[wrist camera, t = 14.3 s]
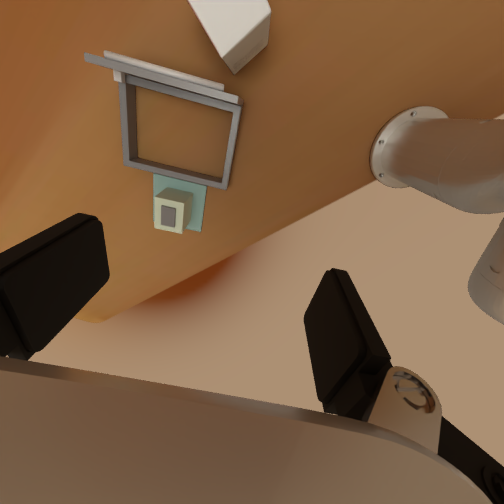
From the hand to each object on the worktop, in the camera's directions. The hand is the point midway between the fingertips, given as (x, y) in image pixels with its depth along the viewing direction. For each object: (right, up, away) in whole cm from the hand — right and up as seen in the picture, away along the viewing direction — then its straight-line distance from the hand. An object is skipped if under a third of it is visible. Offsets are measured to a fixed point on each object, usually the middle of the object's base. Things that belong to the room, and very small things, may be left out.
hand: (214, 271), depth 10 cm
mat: (-13, +11, +36) cm, 39 cm away
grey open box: (-10, +21, +29) cm, 37 cm away
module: (-13, +10, +35) cm, 39 cm away
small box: (-1, +32, +22) cm, 39 cm away
